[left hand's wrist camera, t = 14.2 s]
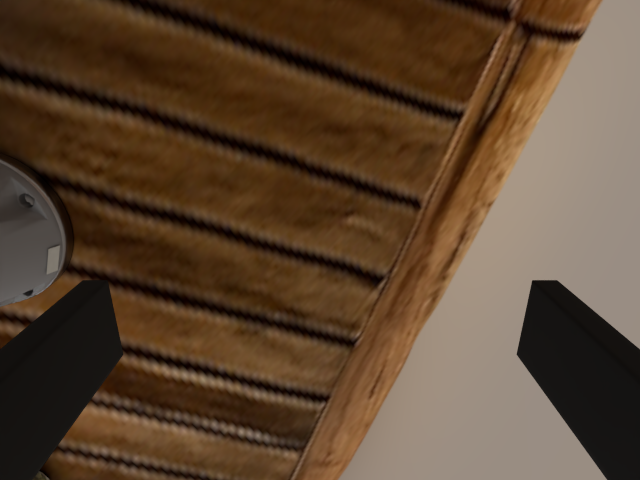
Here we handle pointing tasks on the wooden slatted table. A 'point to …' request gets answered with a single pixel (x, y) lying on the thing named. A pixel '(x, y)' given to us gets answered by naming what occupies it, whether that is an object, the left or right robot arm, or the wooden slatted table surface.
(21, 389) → the left robot arm
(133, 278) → the wooden slatted table surface
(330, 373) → the wooden slatted table surface
